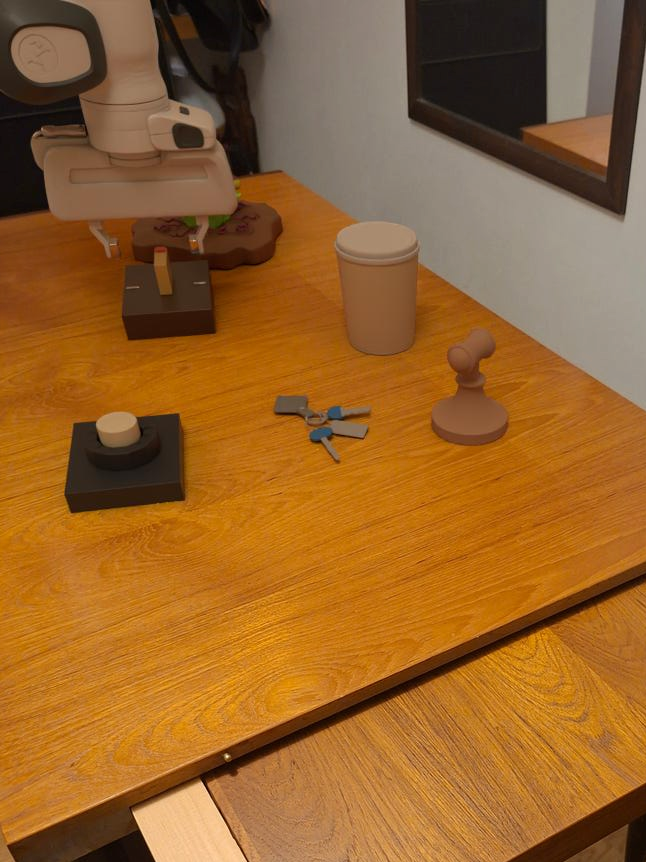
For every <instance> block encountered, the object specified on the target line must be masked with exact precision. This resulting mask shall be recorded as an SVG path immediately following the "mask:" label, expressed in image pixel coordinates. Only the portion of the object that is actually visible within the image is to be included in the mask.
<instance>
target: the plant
mask: <svg viewBox="0 0 646 862" xmlns="http://www.w3.org/2000/svg"><path fill="white" fill-rule="evenodd" d="M232 177H233V181H234V186H235V191H239V190H240V189H241V187H242V183H241V180H240V178H238V177H237V176H236V175H235V174H233V173H232ZM236 196H237V203H238V206H237V208H236V210H235V211H234V213H233V214H231V215H212V216H208V218H209V227H208V229H207V232H206V234H205V236H204V239H203V246H204V254H194V255H192V253H191V247H190V242H189V235H193V234H196V232H197V229H198V227H199V225H197V223H196V217H195V216H188V217H164V218H140V219H136V220H135V222H134V223H133V224H132V225H131V227H130V229H131V234H132V238H133V239H132V241H131V249H132V254H133V256H134V257H133V258H134V260H138V261H142V262H145V263H149V264H154V253H155V247H165V248H167V252H168V256H169V261H170V263H171V262H187V261H202V260H208V264H209V270H210V269H220V270H231V269H233V268H235V267H237V266H239V265H243V264H247V265H259V264H260V263H263V262H265V261H266V262H267V260H269V259H271V257H273V255H274V252H275V241H276V239H277V237H278V235H280V234H281V233H283V221H282V216H281V215H280V214H279V213H278V211H277V209H275V208H274V207H272V206H270V205H268V204H267V203H266V202H251V201H246V200H245V199H240V197H241V196H242V192H236Z"/></svg>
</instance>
